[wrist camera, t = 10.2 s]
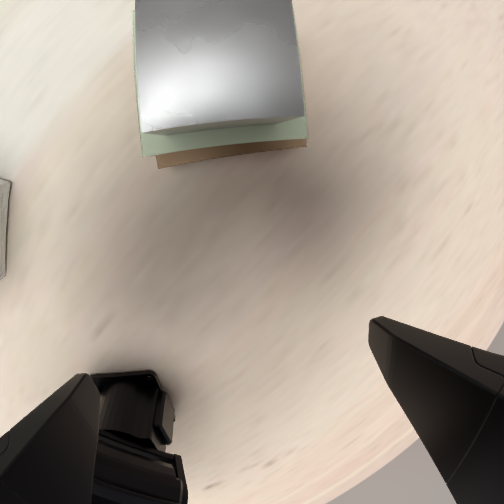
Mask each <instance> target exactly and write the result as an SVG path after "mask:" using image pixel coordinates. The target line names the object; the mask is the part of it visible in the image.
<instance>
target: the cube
mask: <svg viewBox="0 0 504 504" xmlns="http://www.w3.org/2000/svg"><path fill="white" fill-rule="evenodd" d="M135 36H136V64H137V82H138V97H139V109H140V121H141V131H142V133H148V134H156V135H164V136H169V135H175V134H182V133H190V132H197V131H205V130H214V129H223V128H234V127H245V126H258V125H274V124H278V123H282V122H285V121H289V120H292V119H296V118H300V117H304V104H303V93H302V82H301V72H300V63H299V54H298V45H297V37H296V29H295V22H294V14H293V7H292V0H135Z"/></svg>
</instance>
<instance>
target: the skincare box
mask: <svg viewBox="0 0 504 504" xmlns="http://www.w3.org/2000/svg"><path fill="white" fill-rule="evenodd" d="M9 190H10V182H8V181H5V180H2V179H0V280H1V279H2V278H3V277H4V276H5V275H6V267H5V249H6V225H7V210H8V198H9Z"/></svg>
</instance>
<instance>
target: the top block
mask: <svg viewBox="0 0 504 504" xmlns="http://www.w3.org/2000/svg"><path fill="white" fill-rule="evenodd" d="M292 7H293V5H292ZM293 14H294V11H293ZM294 22H295V18H294ZM295 29H296V25H295ZM296 37H297V32H296ZM297 45H298V39H297ZM133 50H134V70H135V85H136V98H137V109H138V120H139V129H140V138H141V147H142V155H143V157H147V156H153V155H159V154H165V153H171V152H177V151H184V150H191V149H198V148H206V147H214V146H222V145H231V144H240V143H251V142H262V141H275V140H290V139H308V132H307V120H306V109H305V99H304V89H303V80H302V71H301V62H300V54H299V46H298V54H299V63H300V72H301V82H302V93H303V104H304V117H300V118H296V119H292V120H289V121H285V122H282V123H278V124H274V125H258V126H245V127H234V128H223V129H214V130H205V131H197V132H190V133H182V134H175V135H169V136H164V135H156V134H148V133H142V131H141V121H140V109H139V97H138V82H137V64H136V36H135V10H133Z"/></svg>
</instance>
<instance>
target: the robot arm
mask: <svg viewBox="0 0 504 504" xmlns="http://www.w3.org/2000/svg"><path fill="white" fill-rule="evenodd" d="M368 342H369V346H370V349H371V351H372V353H373V355H374V357H375V359H376V361H377V364H378V366H379V368H380V370H381V372H382V374H383V376H384V379H385V381H386V383H387V384H388V386H389V388H390V390H391V391H392V393H393V394H394V396H395V398H396V399H397V401H398V402H399V404H400V406H401V407H402V409H403V411H404V412H405V414H406V416H407V417H408V419H409V421H410V422H411V424H412V426H413V427H414V429H415V431H416V432H417V434H418V436H419V437H420V439H421V441H422V442H423V444H424V446H425V448H426V449H427V451H428V452H429V454H430V456H431V457H432V460H433V461H434V463H435V465H436V467H437V468H438V470H439V472H440V474H441V475H442V477H443V479H444V481H445V482H446V483H447V484H446V485H447V487H448V488H449V490H450V492H451V494H452V495H453V497H454V499H455V501H456V503H457V504H504V356H503V355H499V354H495V353H491V352H488V351H485V350H481V349H478V348H475V347H471V346H469V345H466V344H463V343H460V342H457V341H454V340H451V339H448V338H445V337H442V336H439V335H436V334H433V333H430V332H427V331H424V330H421V329H419V328H416V327H413V326H410V325H407V324H404V323H401V322H398V321H395V320H392V319H389V318H386V317H383V316H380V317H376V318H373V319H371V320H370V322H369V338H368ZM148 376H151V377H148ZM93 380H94V381H93ZM174 421H175V415H174V408H173V406H172V404H171V401H170V399H169V397H168V395H167V393H166V392H165V391H164V390H162V387H161V385H160V383H159V381H158V378H157V376H156V374H155V373H154V372H152V371H141V372H130V373H117V374H102V375H89V374H87V373H82V374H76V375H75V376H74V377H72V378H71V379H70V380H69V381H68V382H66V383H65V384H64V385H63V386H61V387H60V388H59V389H58V390H57V391H55V392H54V393H53V394H52V395H51V396H49V397H48V398H47V399H46V400H45V401H43V402H42V403H41V404H40V405H39V406H37V407H36V408H35V409H34V410H33V411H31V412H30V413H29V414H28V415H27V416H25V417H24V418H23V419H22V420H21V421H20V422H18V423H17V424H16V425H15V426H14V427H12V428H11V429H10V431H8V432H6V433H5V434H4V435H3V436H2V437H1V438H0V504H187V502H188V490H187V484H186V479H185V474H184V469H183V464H182V459H181V456H180V455H176V454H174V455H173V454H169V453H166V452H165V450H166V445H170V444H171V443H172V434H173V422H174Z"/></svg>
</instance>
